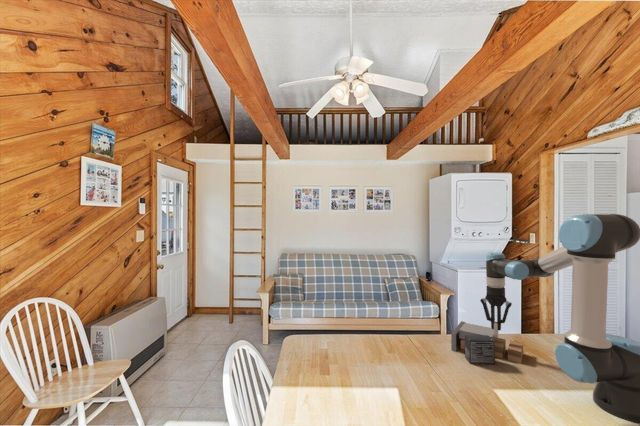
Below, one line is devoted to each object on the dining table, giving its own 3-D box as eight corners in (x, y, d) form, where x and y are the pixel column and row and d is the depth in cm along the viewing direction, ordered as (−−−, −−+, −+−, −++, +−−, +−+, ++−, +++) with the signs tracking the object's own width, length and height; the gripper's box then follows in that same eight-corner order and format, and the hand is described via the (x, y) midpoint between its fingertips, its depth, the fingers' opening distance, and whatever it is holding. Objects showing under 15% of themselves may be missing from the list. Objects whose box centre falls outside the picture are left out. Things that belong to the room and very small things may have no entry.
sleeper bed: (521, 363, 131) (521, 351, 131) (472, 351, 143) (472, 340, 143) (523, 353, 140) (523, 343, 140) (477, 343, 152) (477, 333, 152)
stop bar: (455, 351, 143) (455, 334, 143) (451, 350, 145) (451, 333, 145) (465, 337, 159) (465, 322, 159) (461, 336, 160) (461, 321, 160)
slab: (492, 345, 138) (492, 337, 138) (459, 338, 146) (459, 329, 146) (496, 337, 147) (496, 328, 147) (465, 330, 156) (464, 322, 156)
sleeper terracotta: (469, 351, 144) (469, 341, 144) (460, 348, 146) (460, 339, 146) (474, 343, 152) (474, 334, 152) (466, 341, 155) (466, 332, 155)
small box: (488, 357, 137) (488, 334, 137) (495, 365, 130) (495, 340, 130) (464, 357, 138) (464, 333, 138) (469, 364, 131) (469, 339, 131)
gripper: (512, 286, 141) (513, 337, 141) (481, 282, 149) (482, 330, 149) (511, 289, 135) (511, 342, 135) (478, 285, 143) (479, 335, 143)
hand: (496, 336), depth 142 cm, fingers closed
